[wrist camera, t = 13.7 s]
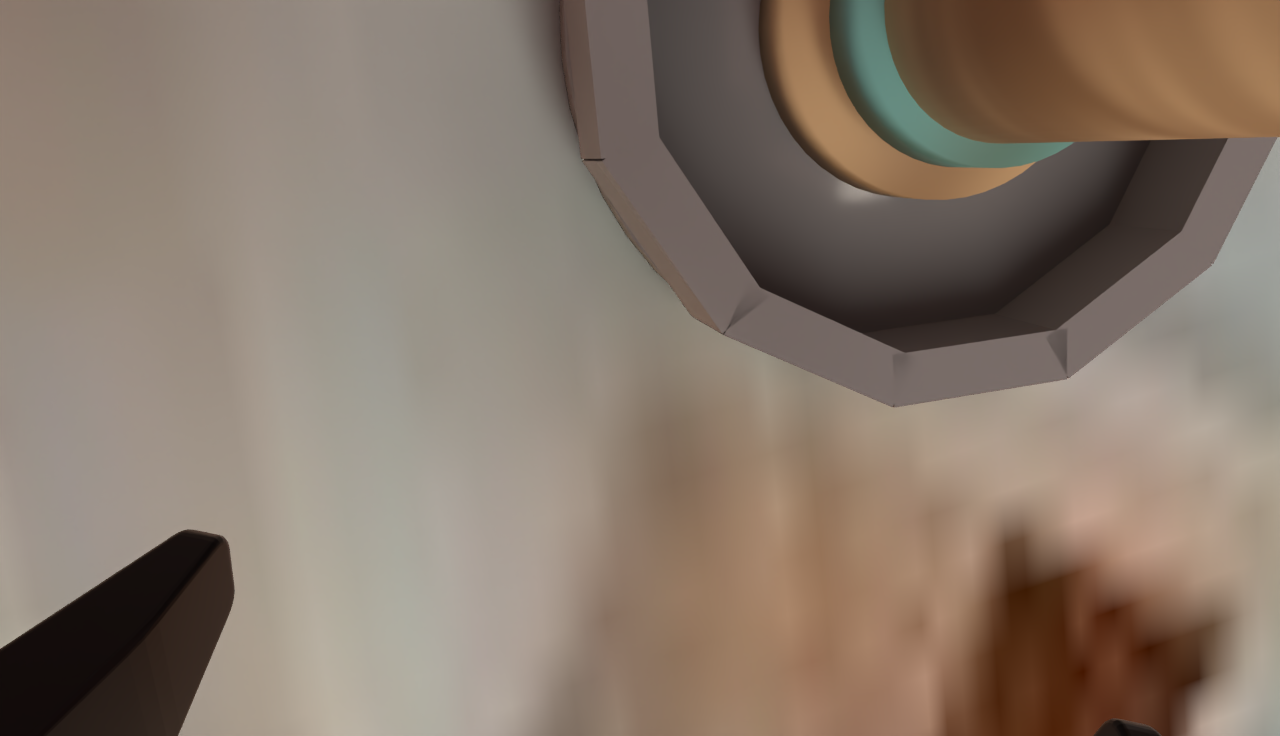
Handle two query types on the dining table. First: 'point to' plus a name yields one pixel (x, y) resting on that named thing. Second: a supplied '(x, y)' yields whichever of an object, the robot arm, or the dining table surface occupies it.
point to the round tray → (877, 219)
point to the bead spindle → (1010, 82)
